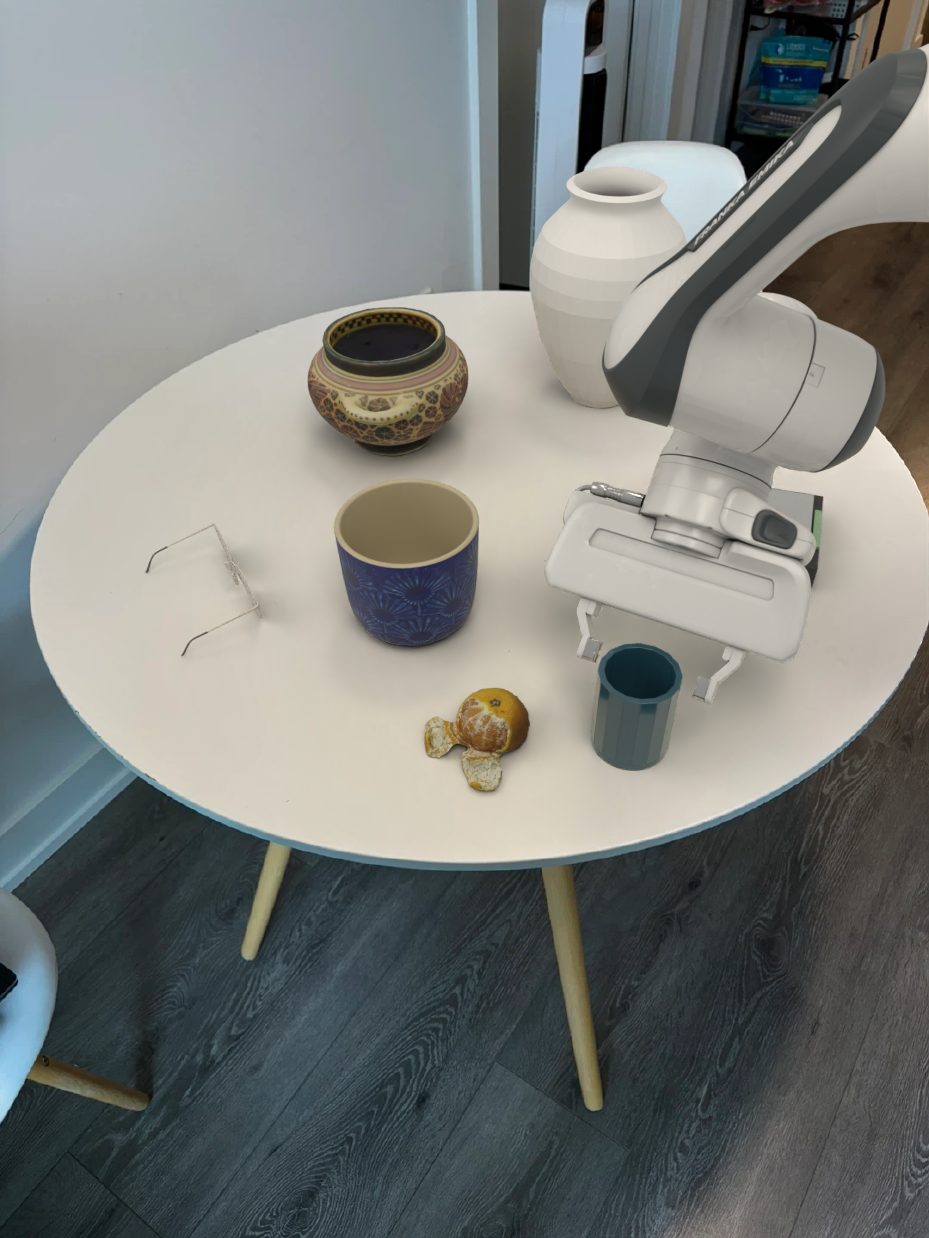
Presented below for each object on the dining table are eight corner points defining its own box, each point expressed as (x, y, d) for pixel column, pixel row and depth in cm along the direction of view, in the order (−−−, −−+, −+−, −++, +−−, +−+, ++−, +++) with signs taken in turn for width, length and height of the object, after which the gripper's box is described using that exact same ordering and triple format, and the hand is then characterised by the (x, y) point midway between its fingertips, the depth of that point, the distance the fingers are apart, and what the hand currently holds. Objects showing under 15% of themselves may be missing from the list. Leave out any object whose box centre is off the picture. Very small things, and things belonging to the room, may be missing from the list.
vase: (606, 345, 123) (624, 144, 106) (701, 401, 113) (739, 186, 95) (498, 385, 116) (498, 176, 99) (588, 448, 105) (607, 226, 88)
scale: (817, 515, 96) (824, 491, 94) (811, 589, 87) (819, 564, 85) (681, 493, 99) (685, 469, 97) (663, 562, 91) (667, 537, 89)
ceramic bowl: (358, 400, 120) (315, 291, 110) (490, 371, 115) (457, 256, 106) (321, 515, 102) (265, 398, 92) (475, 487, 98) (433, 361, 88)
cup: (673, 720, 76) (687, 652, 71) (661, 778, 72) (675, 711, 66) (599, 703, 78) (607, 636, 72) (583, 759, 73) (590, 692, 68)
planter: (323, 604, 87) (307, 511, 80) (431, 553, 92) (425, 462, 85) (393, 681, 80) (383, 587, 72) (506, 622, 85) (508, 528, 78)
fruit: (411, 741, 75) (408, 712, 73) (482, 686, 79) (482, 656, 77) (484, 800, 71) (484, 771, 68) (556, 739, 75) (558, 709, 72)
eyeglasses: (268, 628, 85) (257, 598, 82) (184, 664, 83) (170, 633, 80) (222, 545, 94) (211, 515, 91) (146, 575, 92) (132, 545, 89)
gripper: (567, 466, 72) (509, 634, 72) (836, 541, 65) (770, 727, 65) (585, 484, 78) (532, 639, 78) (834, 554, 70) (773, 724, 71)
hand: (642, 680), depth 72 cm, fingers open, 8 cm apart
